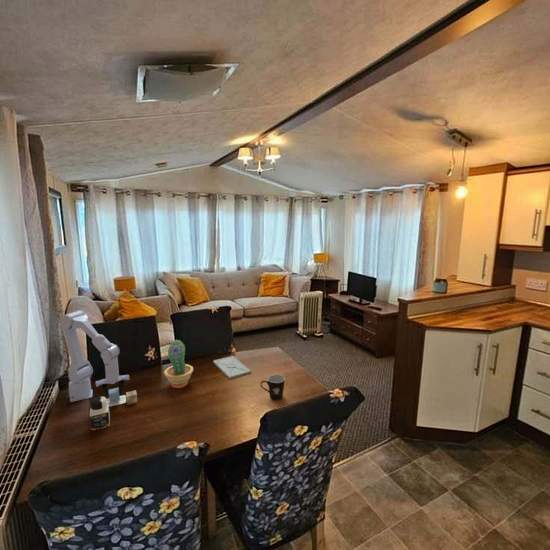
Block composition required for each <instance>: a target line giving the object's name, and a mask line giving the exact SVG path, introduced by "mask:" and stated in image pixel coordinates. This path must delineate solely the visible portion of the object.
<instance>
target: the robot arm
mask: <svg viewBox="0 0 550 550" xmlns="http://www.w3.org/2000/svg"><path fill="white" fill-rule="evenodd" d="M59 323H60V327H61V330H62V334H63V337H64V340H65V344H66V348H67V350H68V354H69V357H70V361H71V364H70V365H69V367H68V369H67V371H68V380H69V382H68V396H69V402H70V403H72V402H76V401H81V400H87V399H90V398H93V391H94V390H93V389H92V385H91V378H92V375H93V372H94V369H93V366H92V365H91V363H90V361H89V360H87V359H85V357H84V355H83V349H82V346H81V344H80V341H79V340H80V339H79V336H78V333H77V329H81V330H82V331H83V332H84V333H85V334H86V335H87V336H88V337H89V338H91V343H92V344H93V346H95V348H96V349H97V350H98V351H99V352H100V357H101V359H102V361H103V363H104V371H105V378H102V379H99V380H95V387H96V388H97V387H99V386H101V388H102V390H103V391H104V393H105V394H106V397H107V399H109V384H110V385H113V384H116V383H118V386H119V387H118V388H119V396H122V390H123V387H124V386H125V381H129V380H130V375H129V374H125V375H120V372H119V371H120V370H119V359H118V358H119V357H118V356H119V355H120V353H121V352H120V351H121V349H120V347H119V346H118V345H117V344H114V343H111V341H109V340H108V339H107V338H106V336H105V335H104V334H99V333H98V332H97V330H96V329H95V328H94V326H93V325H92V324H91V322H90V321H89V317H88V315H87V313H86V312H85V311H84V310H82V309H78V310H76V311H73V312H69V313H67V314H63V315H61V317H60V318H59Z"/></svg>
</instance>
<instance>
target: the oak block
mask: <svg viewBox="0 0 550 550" xmlns="http://www.w3.org/2000/svg"><path fill="white" fill-rule="evenodd" d="M125 396H126V405H127V406H128V405H133V404H137V403H138V394H137V390H135V389H134V390H132V391H127V392H125Z"/></svg>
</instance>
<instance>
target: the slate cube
mask: <svg viewBox="0 0 550 550" xmlns="http://www.w3.org/2000/svg"><path fill="white" fill-rule="evenodd" d="M108 391H109V398H108V399H109V401H110V402H114V401H118V400H120V396H119V387H115V388H110V389H108Z"/></svg>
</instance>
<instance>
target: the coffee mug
mask: <svg viewBox="0 0 550 550" xmlns="http://www.w3.org/2000/svg"><path fill="white" fill-rule="evenodd" d="M285 380H286V378H285V376H284V375H281V374H272V375H269V376H268V377H267V380H262V381H260V387H261V388H262V389H263V390H265V391H266V392H267V393H269V399H271V400H272V401H280V400H282V399H283V397H284V390H285V389H284V388H285ZM262 383H267V386H268V389H267V388H265V387H263V384H262Z"/></svg>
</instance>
